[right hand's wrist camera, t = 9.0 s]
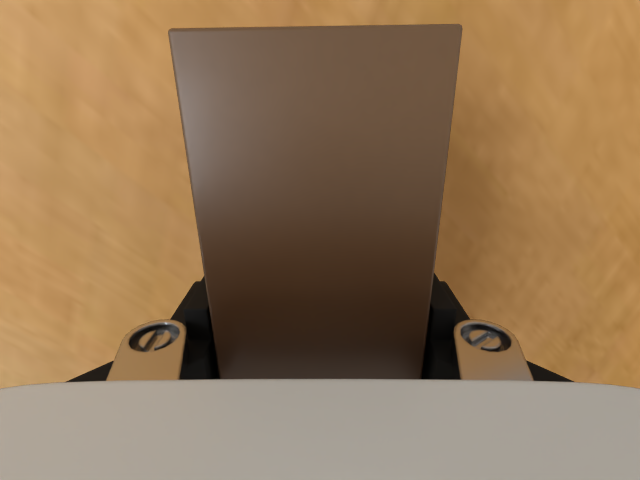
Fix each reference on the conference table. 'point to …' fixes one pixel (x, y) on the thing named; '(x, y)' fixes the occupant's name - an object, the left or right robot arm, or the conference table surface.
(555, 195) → the conference table surface
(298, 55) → the bar
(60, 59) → the conference table surface
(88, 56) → the conference table surface
